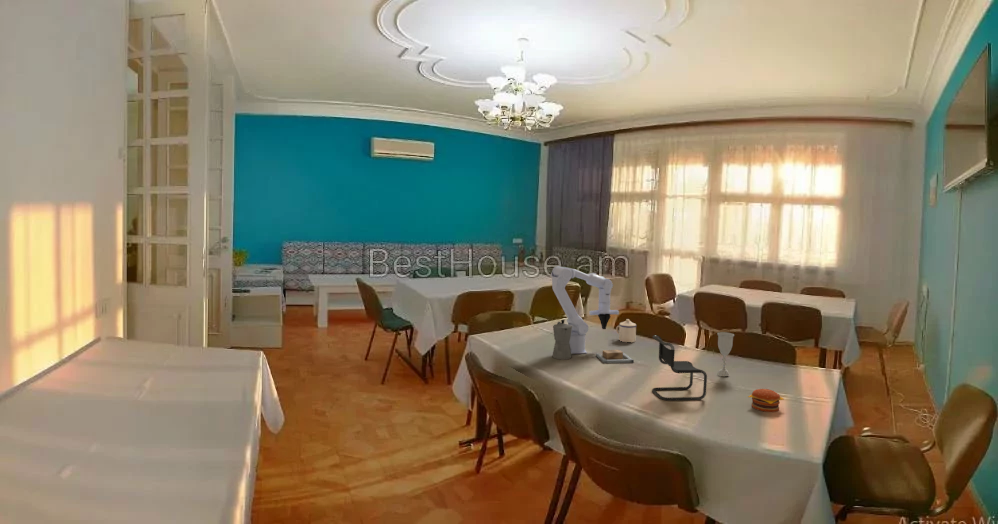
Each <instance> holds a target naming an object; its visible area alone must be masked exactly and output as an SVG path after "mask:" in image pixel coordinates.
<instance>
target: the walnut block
mask: <svg viewBox="0 0 998 524" xmlns="http://www.w3.org/2000/svg"><path fill="white" fill-rule="evenodd" d="M623 353H624V352H623V351H622V350H620V349H606V350H605V349H604V350H602V354H601V355H602V356H603V357H604V358H605V359H606V360H618V359H624V357H623Z"/></svg>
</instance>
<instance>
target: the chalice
mask: <svg viewBox="0 0 998 524" xmlns="http://www.w3.org/2000/svg"><path fill="white" fill-rule="evenodd" d="M717 336H718V337H717V346H718V349H719V352H720V354H721V355H722V356H723V358H722V363H721V365H722V367H721V368H720V369H719V370H718V373H717V374H718V375H720V376H719V377H721V376H729V375H730V373H729V371H728V369H727V368H726V366H727V364H726V361H727V359H726V357H727V356H729V354H730V352H731V351H732V348H733V345H734V344H733V342H734V337H735V334H734V333H731V332H727V331H725V332H724V331H721V332H717ZM718 375H717V376H718ZM729 377H730V376H729Z"/></svg>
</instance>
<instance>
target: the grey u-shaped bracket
mask: <svg viewBox="0 0 998 524" xmlns="http://www.w3.org/2000/svg"><path fill="white" fill-rule="evenodd" d="M595 356H596V357H597V358H598V359H599V360H600V361H601V362H603V364H627V363H628V364H630V363H631V364H633V363H635V362H634V361H635V360H634V359H633V358H631V357H630V356H629V355H628V354H627V353H625V352H623V359H618V360H606V359H605V358H604V357H603V356H602V354H601V353H596V354H595Z"/></svg>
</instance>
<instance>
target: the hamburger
mask: <svg viewBox="0 0 998 524" xmlns="http://www.w3.org/2000/svg"><path fill="white" fill-rule="evenodd" d="M747 398H751V399H752V402H751V407H752V408H754V409H756V410H757V411H762V412H766V413H774V412H778V411H780V406H779V405H780V401H784V400H785V398H783V397H782V396H781V394H779V393H777V392H776V391H774V390H771V389H768V388H757V389H755V390H753V391H752V393H751V394H750V395H749V396H747Z"/></svg>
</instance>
